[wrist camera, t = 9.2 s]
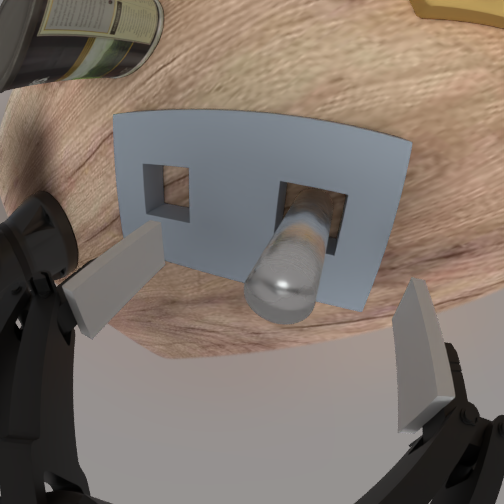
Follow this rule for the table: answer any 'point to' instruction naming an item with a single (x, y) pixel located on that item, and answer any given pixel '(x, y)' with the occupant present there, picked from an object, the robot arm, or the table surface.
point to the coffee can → (75, 39)
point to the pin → (292, 261)
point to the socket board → (259, 188)
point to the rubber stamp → (462, 10)
